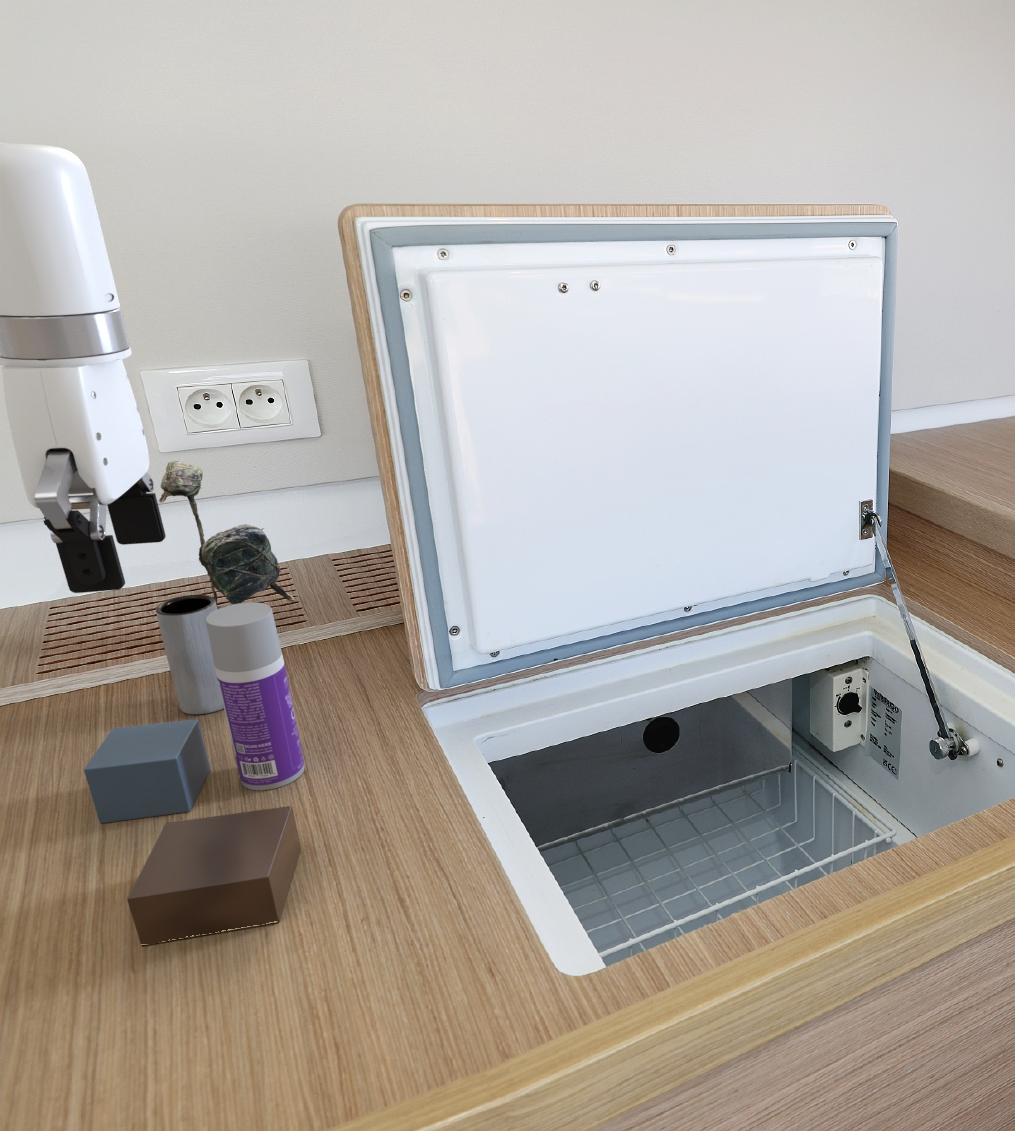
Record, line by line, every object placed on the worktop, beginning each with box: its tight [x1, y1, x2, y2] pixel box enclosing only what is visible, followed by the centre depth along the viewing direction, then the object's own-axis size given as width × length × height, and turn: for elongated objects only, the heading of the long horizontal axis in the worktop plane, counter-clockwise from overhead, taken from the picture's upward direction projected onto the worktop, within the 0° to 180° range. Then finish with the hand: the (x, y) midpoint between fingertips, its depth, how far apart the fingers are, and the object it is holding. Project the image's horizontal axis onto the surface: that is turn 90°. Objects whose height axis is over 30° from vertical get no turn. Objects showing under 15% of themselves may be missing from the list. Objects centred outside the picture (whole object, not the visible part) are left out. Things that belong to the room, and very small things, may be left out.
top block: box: [83, 718, 211, 824], centre depth 75 cm, size 6×6×5 cm
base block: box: [126, 805, 302, 945], centre depth 66 cm, size 8×8×4 cm
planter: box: [155, 594, 224, 715], centre depth 87 cm, size 4×4×10 cm
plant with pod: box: [158, 460, 295, 609], centre depth 99 cm, size 8×11×20 cm
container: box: [206, 602, 306, 791], centre depth 77 cm, size 5×5×15 cm
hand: (121, 564), depth 72 cm, fingers open, 9 cm apart
